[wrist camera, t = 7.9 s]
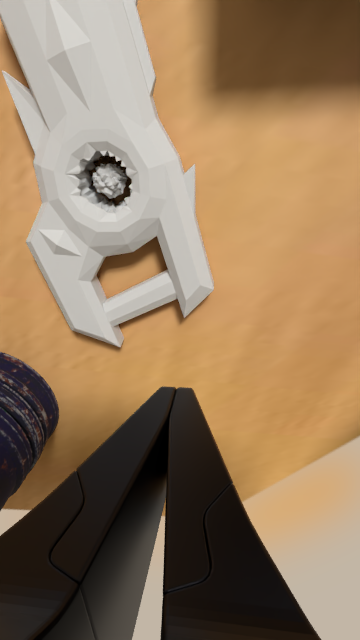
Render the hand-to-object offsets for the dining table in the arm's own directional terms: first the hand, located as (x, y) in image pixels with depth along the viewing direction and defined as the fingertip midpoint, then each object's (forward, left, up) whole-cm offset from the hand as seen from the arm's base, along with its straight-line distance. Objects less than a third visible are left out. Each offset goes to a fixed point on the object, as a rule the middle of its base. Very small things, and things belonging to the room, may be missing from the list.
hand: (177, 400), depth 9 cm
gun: (+5, -4, -13) cm, 14 cm away
